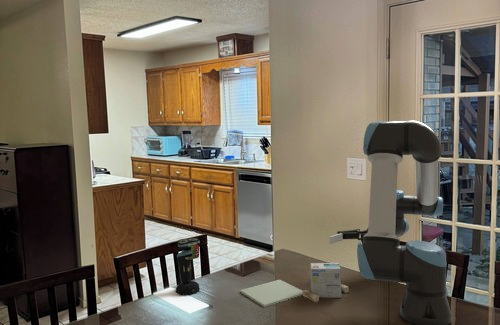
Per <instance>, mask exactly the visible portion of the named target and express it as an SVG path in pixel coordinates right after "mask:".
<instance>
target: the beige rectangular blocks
mask: <svg viewBox="0 0 500 325" xmlns="http://www.w3.org/2000/svg"><path fill="white" fill-rule="evenodd" d="M349 287H350V286H348V285H345V284H343V283H341V293H344V294H347V293H349V291H350V290H349V289H350V288H349ZM302 291H303V296H305V297H307V298H309V299H311V300H313V301H315V302H316V301H319V302H320V297H319V296H318V295H316V294H314V293H311V291H309V290H307V289H305V290H302ZM303 296H302V297H303ZM305 297H304V298H305ZM307 298H306V299H307ZM309 299H308V300H309ZM311 300H310V301H311ZM313 301H312V302H313ZM315 302H314V303H315ZM316 303H317V302H316Z"/></svg>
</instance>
